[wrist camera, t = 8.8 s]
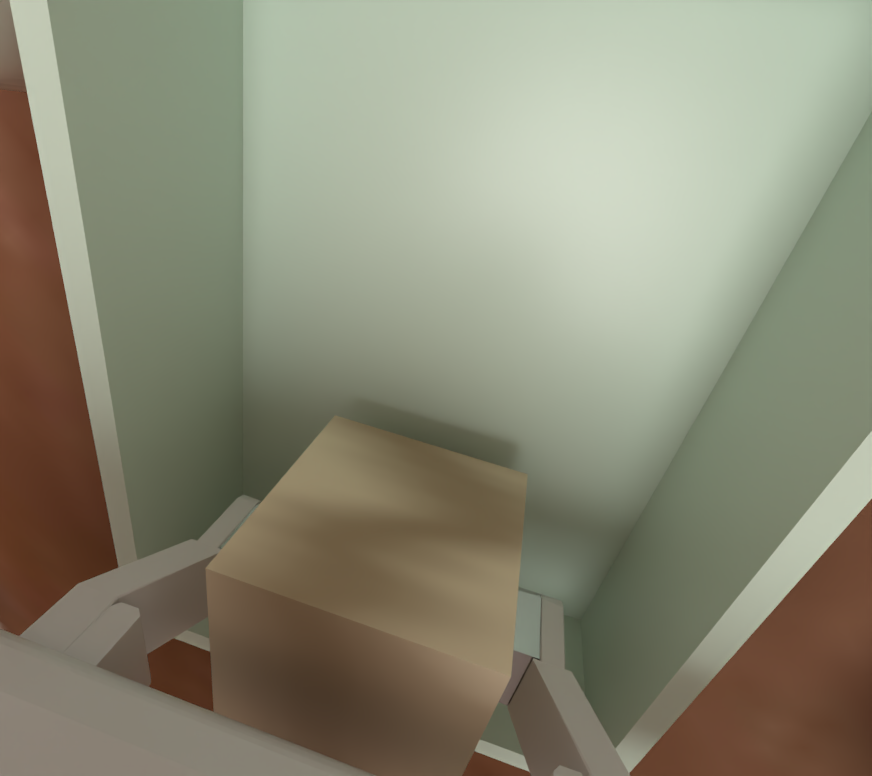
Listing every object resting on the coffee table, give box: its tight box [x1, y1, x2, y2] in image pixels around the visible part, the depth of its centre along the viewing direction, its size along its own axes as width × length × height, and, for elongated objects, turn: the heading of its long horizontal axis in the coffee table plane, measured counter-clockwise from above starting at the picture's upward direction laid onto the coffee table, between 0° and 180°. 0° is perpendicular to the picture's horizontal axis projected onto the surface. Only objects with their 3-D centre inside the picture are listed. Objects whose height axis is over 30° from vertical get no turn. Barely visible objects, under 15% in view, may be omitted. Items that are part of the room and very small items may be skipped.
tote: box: [9, 0, 872, 773], centre depth 10 cm, size 17×13×5 cm
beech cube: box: [205, 415, 528, 776], centre depth 10 cm, size 5×5×5 cm
